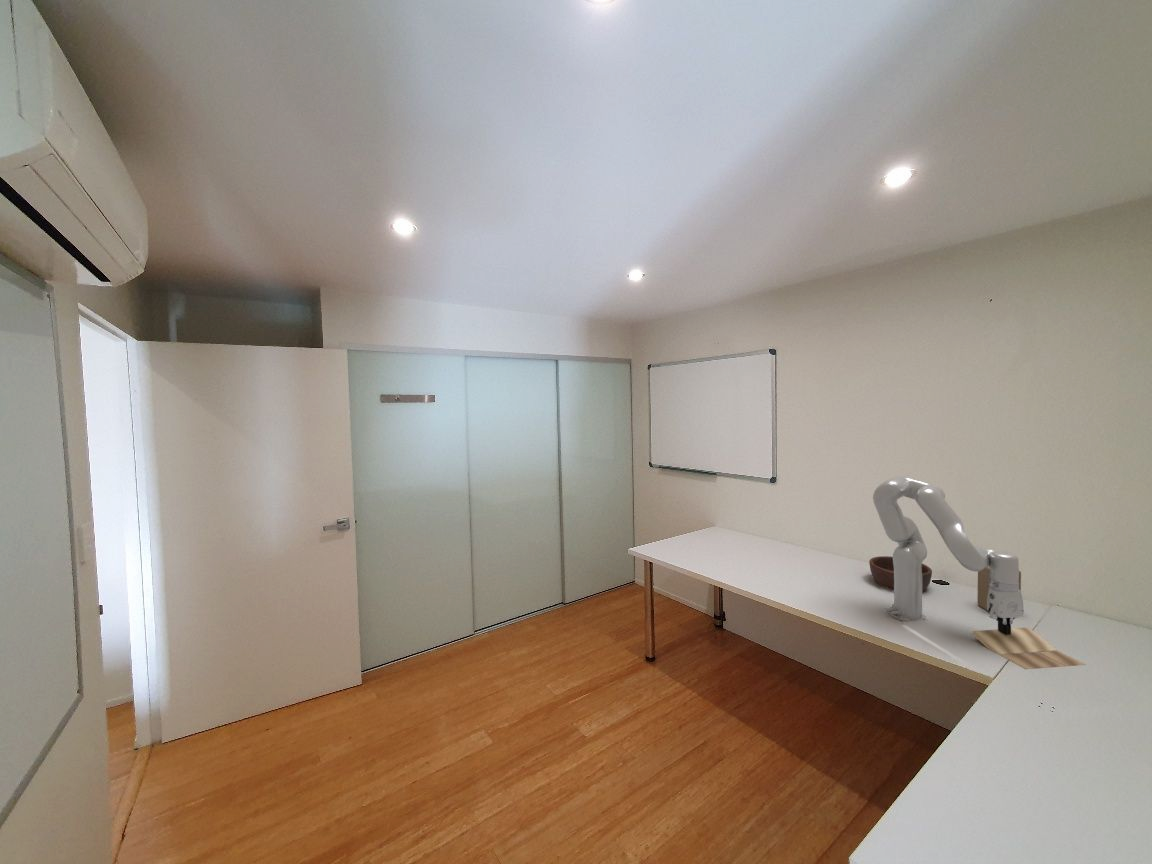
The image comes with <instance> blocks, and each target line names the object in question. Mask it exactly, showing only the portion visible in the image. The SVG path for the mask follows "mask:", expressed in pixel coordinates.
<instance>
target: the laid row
mask: <svg viewBox="0 0 1152 864" xmlns="http://www.w3.org/2000/svg"><path fill="white" fill-rule="evenodd" d="M1000 656H1001V657H1003V658H1004V659H1006V660H1008V661H1010V662H1011V663H1013V664H1015V665H1017V666H1019V667H1021V668H1023V669H1024V670H1033V669H1045V668H1046V669H1047V668H1059V667H1060V668H1061V667H1072V666H1073V667H1074V666H1086V665H1087V664H1086V663H1084V662H1082V661H1080V660H1078V659H1076V658H1073V657H1072V656H1071V655H1070V656H1069V655H1068V654H1065V653H1063V652H1062V651H1059V650H1057V651H1043V652H1029V653H1015V654H1001V655H1000Z"/></svg>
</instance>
